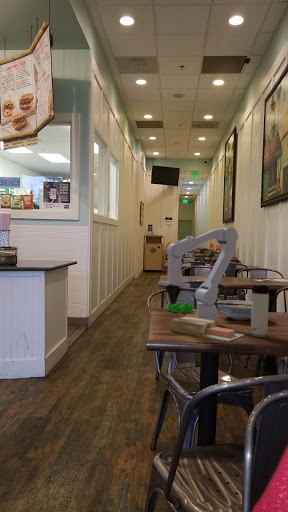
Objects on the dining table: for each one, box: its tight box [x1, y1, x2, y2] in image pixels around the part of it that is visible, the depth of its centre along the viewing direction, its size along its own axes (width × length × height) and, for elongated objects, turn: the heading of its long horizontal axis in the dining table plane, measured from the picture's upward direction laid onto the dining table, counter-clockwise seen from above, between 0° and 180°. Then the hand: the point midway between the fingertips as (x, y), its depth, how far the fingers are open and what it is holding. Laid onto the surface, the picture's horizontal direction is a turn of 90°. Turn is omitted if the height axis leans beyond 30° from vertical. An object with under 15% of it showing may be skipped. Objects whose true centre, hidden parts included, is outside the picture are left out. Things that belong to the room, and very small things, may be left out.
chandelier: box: [165, 297, 196, 314], centre depth 208 cm, size 15×15×7 cm
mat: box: [201, 332, 246, 343], centre depth 154 cm, size 14×11×1 cm
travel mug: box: [250, 284, 270, 338], centre depth 157 cm, size 6×7×20 cm
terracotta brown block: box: [206, 326, 236, 338], centre depth 155 cm, size 6×9×2 cm, turn 52°
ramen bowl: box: [214, 299, 271, 321], centre depth 192 cm, size 25×23×8 cm
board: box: [169, 315, 219, 337], centre depth 163 cm, size 14×14×4 cm
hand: (173, 303), depth 170 cm, fingers closed
